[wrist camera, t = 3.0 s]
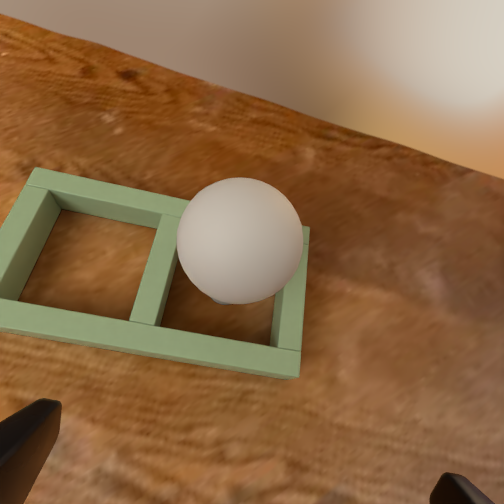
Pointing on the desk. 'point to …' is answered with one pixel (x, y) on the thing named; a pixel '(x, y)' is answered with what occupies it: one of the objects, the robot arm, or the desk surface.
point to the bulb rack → (151, 287)
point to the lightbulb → (239, 241)
